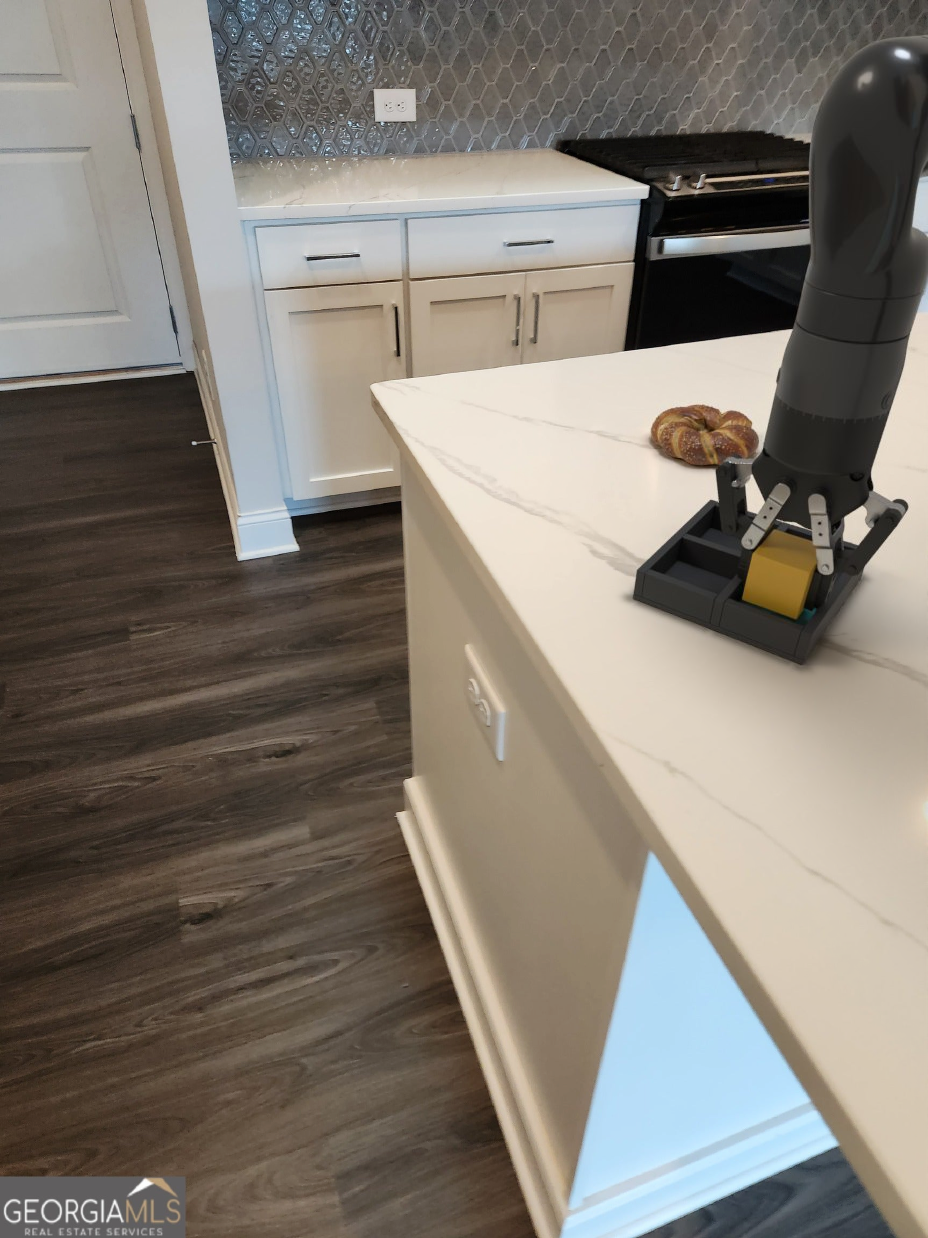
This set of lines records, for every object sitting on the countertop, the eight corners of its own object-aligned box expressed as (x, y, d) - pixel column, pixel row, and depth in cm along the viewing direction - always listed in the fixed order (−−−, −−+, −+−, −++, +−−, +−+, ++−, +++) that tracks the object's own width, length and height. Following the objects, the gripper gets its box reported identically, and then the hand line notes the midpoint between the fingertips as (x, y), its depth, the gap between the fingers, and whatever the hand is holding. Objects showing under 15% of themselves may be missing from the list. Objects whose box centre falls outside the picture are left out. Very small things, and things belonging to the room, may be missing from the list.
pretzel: (633, 454, 93) (637, 423, 91) (668, 418, 100) (672, 389, 98) (739, 479, 88) (746, 447, 86) (767, 440, 95) (774, 410, 93)
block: (816, 592, 67) (830, 546, 65) (796, 620, 64) (810, 572, 62) (762, 574, 69) (774, 528, 67) (741, 600, 67) (752, 553, 64)
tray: (861, 577, 73) (870, 548, 71) (802, 665, 64) (811, 635, 62) (705, 525, 81) (710, 498, 79) (632, 598, 71) (636, 569, 70)
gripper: (960, 397, 55) (884, 602, 66) (754, 354, 62) (715, 545, 73) (931, 438, 51) (855, 651, 61) (712, 385, 58) (677, 585, 68)
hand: (779, 592), depth 67 cm, fingers closed on block, 4 cm apart
